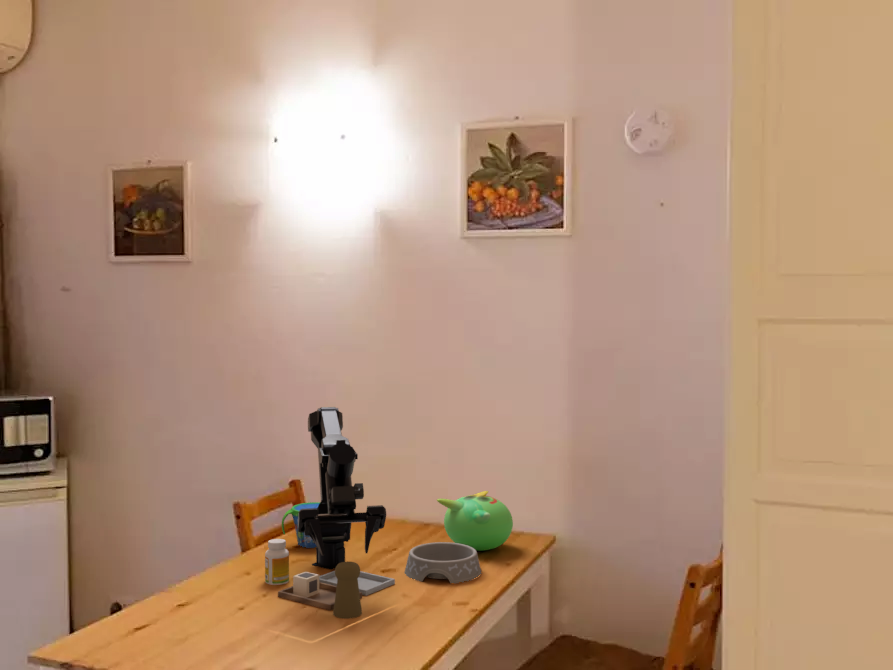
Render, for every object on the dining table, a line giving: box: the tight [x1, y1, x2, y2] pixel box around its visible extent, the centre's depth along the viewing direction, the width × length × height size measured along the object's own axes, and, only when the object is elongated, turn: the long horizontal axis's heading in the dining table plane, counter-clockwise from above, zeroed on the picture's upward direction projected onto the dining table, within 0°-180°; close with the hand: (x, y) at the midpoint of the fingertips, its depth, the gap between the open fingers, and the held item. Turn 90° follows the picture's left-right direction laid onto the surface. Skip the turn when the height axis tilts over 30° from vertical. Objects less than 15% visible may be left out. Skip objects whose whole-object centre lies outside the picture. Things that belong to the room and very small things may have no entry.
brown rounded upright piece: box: [332, 561, 363, 620], centre depth 199 cm, size 6×6×11 cm
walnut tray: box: [277, 582, 363, 612], centre depth 209 cm, size 15×10×2 cm
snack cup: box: [281, 501, 321, 549], centre depth 252 cm, size 16×10×10 cm
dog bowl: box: [404, 541, 482, 584], centre depth 229 cm, size 17×18×5 cm
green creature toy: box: [436, 490, 514, 552], centre depth 249 cm, size 18×17×15 cm
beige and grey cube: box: [292, 571, 320, 598], centre depth 212 cm, size 4×4×4 cm
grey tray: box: [319, 570, 396, 597], centre depth 219 cm, size 15×10×2 cm
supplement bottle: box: [264, 538, 290, 586], centre depth 220 cm, size 5×5×10 cm
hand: (345, 553), depth 203 cm, fingers open, 9 cm apart
